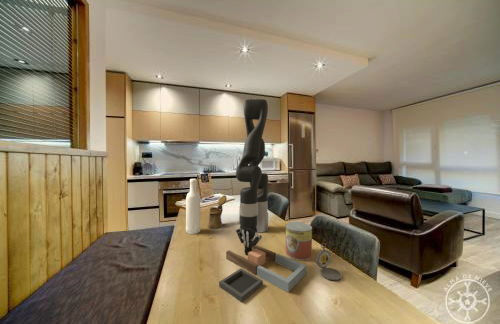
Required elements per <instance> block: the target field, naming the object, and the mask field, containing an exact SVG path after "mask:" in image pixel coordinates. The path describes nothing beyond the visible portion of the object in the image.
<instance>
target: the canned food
mask: <svg viewBox="0 0 500 324" xmlns="http://www.w3.org/2000/svg"><path fill="white" fill-rule="evenodd" d="M312 245H313V227H312V225H310V224H308V223H305V222H299V221H290V222H288V223H286V224H285V250H284V251H285V255H286V257H288V258H290V259H292V260H295V261H307V260H310V259H312V256H313V250H312V249H313V246H312Z"/></svg>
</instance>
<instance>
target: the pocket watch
mask: <svg viewBox="0 0 500 324" xmlns="http://www.w3.org/2000/svg"><path fill="white" fill-rule="evenodd" d="M322 245H323V246H322ZM320 248H321V250H320V251H319V252H318V253H317V255H316V258H315V262H316V264H317V266H318V267H319V268H320V269H321V270H320V271H321V275H322V276H323V278H326V279H328V280H330V281H339V280H341V279H342V276H343V275H342V273H341V272H340V271H339V270H337V269H335V268H332V267H328V266H329V264H330V262H331V259H332V257H331V253H330V251H329V250H327V249H326V248H327V244H326V243H325V242H323V243H321V244H320Z"/></svg>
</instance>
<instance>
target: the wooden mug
mask: <svg viewBox="0 0 500 324" xmlns="http://www.w3.org/2000/svg"><path fill="white" fill-rule="evenodd" d="M226 202H227V196H226V195H224V194H223V195H222V196H220V198H219V200H218V201H217V203H218V205H217V206H213V207H209V213H208V214H209V216H208V222H207V228H208V229H215V230H216V229H221V227H223V222H222V214H223V205H225V204H226Z"/></svg>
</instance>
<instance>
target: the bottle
mask: <svg viewBox="0 0 500 324" xmlns="http://www.w3.org/2000/svg"><path fill="white" fill-rule="evenodd" d="M197 183H198V180H197V178H190V179H189V192H188V193H187V194H186V197H185V233H186V235H187V234H188V235H196V234H198V233H200V232H201V195H200V192H198V191H197V190H198V189H197Z"/></svg>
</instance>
